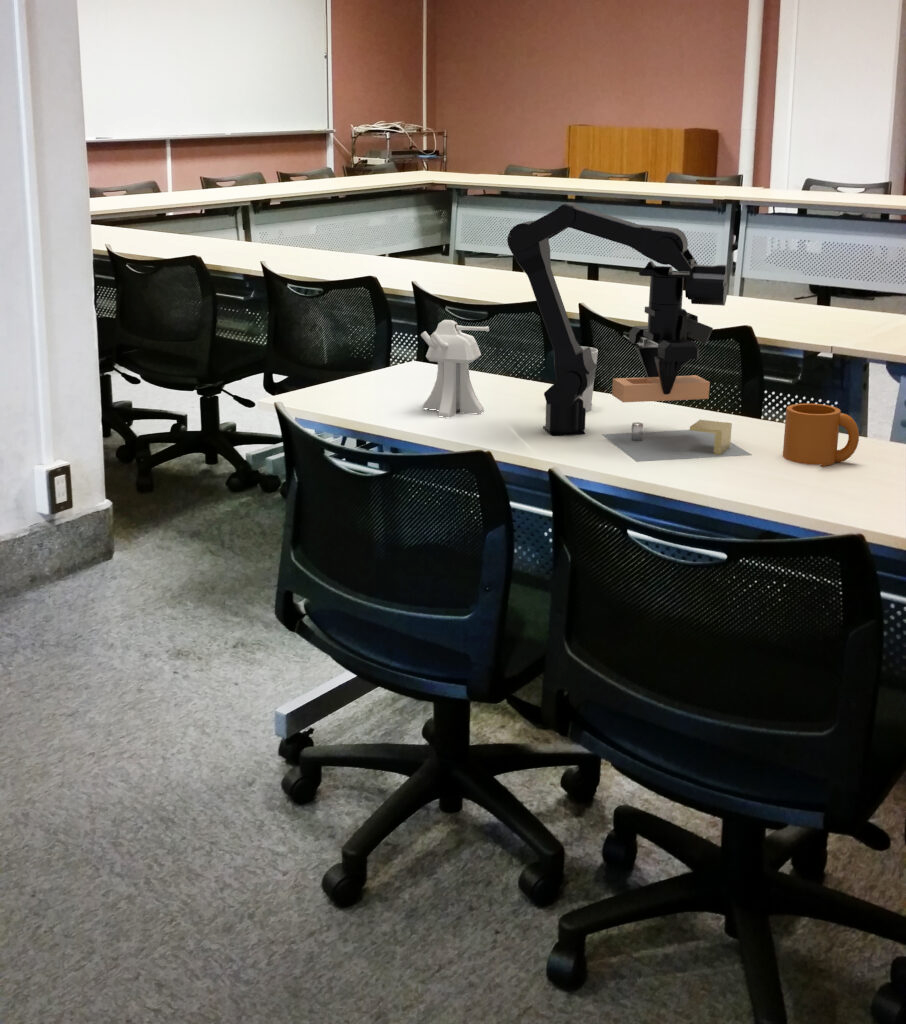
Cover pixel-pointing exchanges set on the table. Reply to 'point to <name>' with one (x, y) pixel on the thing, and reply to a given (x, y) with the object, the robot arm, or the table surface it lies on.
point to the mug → (817, 434)
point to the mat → (671, 445)
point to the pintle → (637, 431)
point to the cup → (589, 391)
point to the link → (659, 389)
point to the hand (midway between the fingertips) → (660, 390)
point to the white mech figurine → (453, 369)
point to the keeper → (716, 433)
